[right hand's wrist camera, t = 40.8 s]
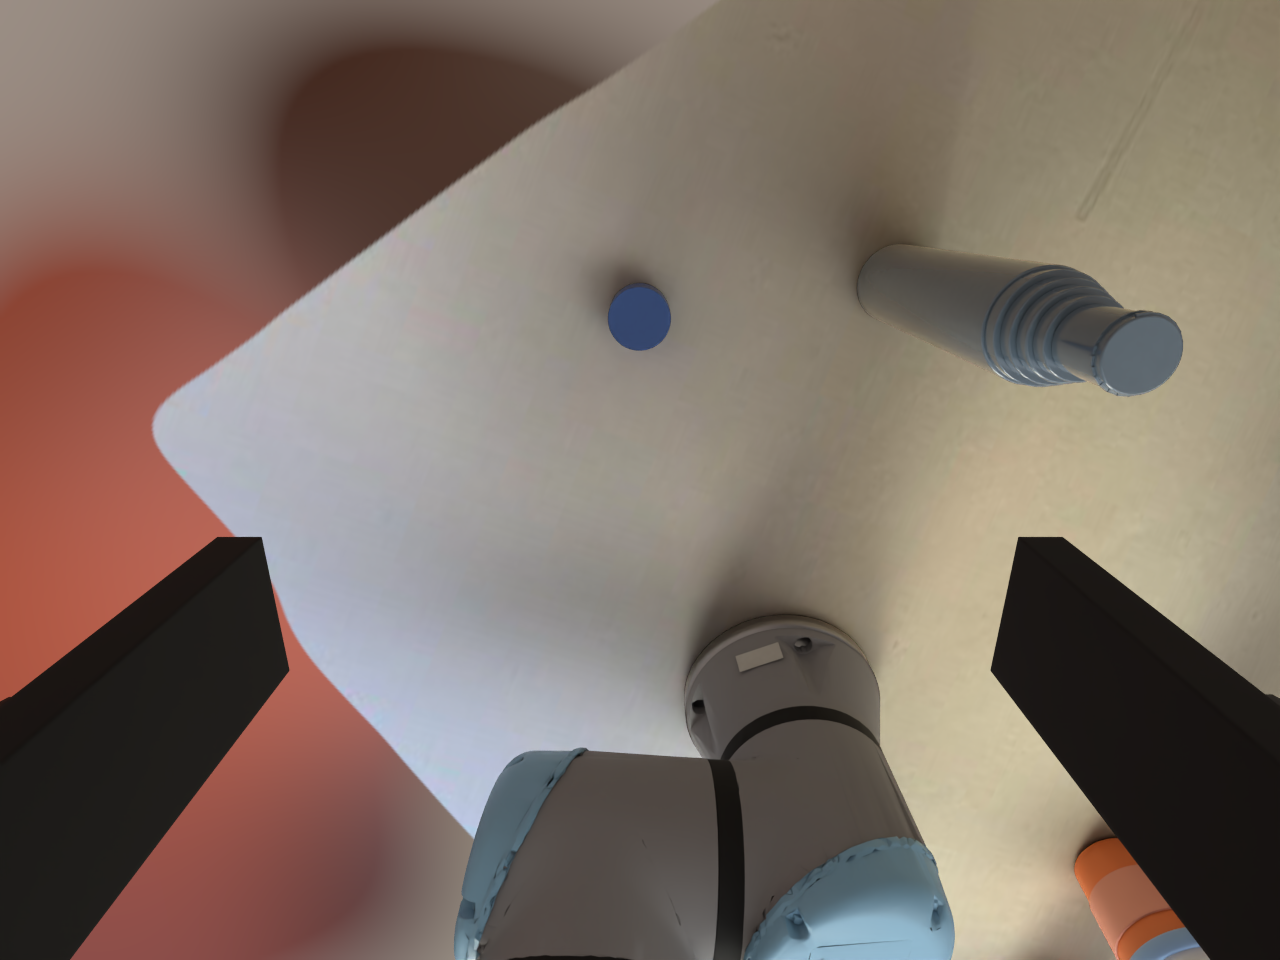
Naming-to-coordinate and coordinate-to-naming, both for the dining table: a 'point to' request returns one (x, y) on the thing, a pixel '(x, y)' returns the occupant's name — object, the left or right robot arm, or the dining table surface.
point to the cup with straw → (1131, 907)
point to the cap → (639, 316)
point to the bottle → (1020, 318)
